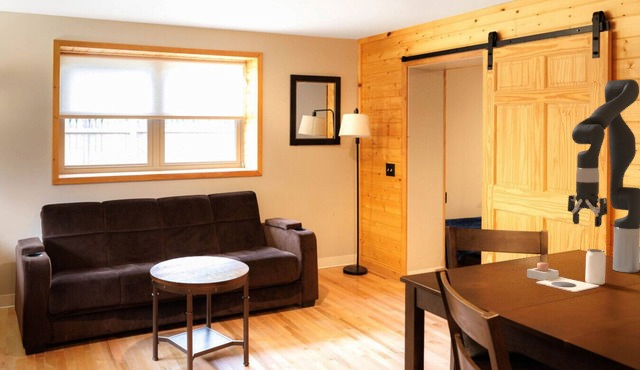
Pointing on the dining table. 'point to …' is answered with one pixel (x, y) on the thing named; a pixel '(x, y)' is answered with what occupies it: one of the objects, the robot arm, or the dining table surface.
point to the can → (595, 267)
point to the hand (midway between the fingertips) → (586, 225)
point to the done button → (542, 267)
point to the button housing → (542, 274)
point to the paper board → (567, 284)
